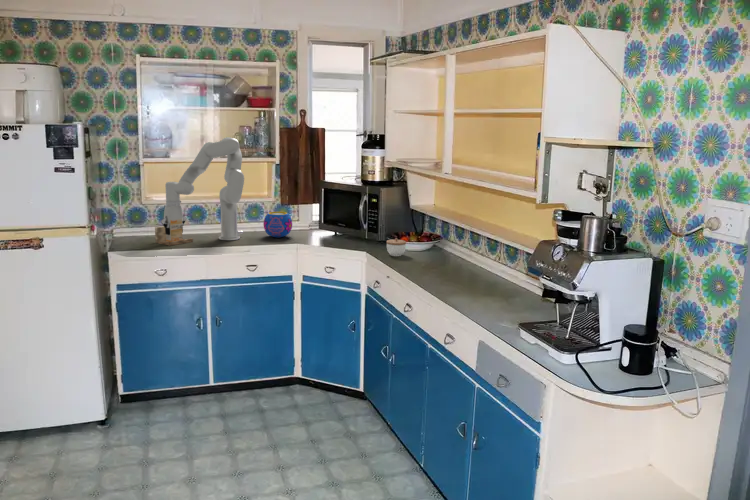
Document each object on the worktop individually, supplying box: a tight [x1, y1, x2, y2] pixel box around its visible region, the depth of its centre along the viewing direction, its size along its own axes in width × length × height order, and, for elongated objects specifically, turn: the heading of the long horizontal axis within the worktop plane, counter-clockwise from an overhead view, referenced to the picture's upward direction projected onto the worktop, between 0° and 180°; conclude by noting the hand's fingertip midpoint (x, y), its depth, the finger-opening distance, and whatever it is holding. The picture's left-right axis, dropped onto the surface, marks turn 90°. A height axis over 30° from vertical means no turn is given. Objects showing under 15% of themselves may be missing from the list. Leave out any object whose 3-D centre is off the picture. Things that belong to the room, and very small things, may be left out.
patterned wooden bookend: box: [154, 225, 194, 247], centre depth 373 cm, size 16×13×9 cm
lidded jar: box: [386, 237, 407, 257], centre depth 356 cm, size 11×11×9 cm
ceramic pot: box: [262, 211, 293, 239], centre depth 397 cm, size 18×18×15 cm
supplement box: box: [166, 218, 184, 242], centre depth 373 cm, size 8×5×13 cm, turn 143°
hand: (174, 233), depth 373 cm, fingers closed on supplement box, 8 cm apart
